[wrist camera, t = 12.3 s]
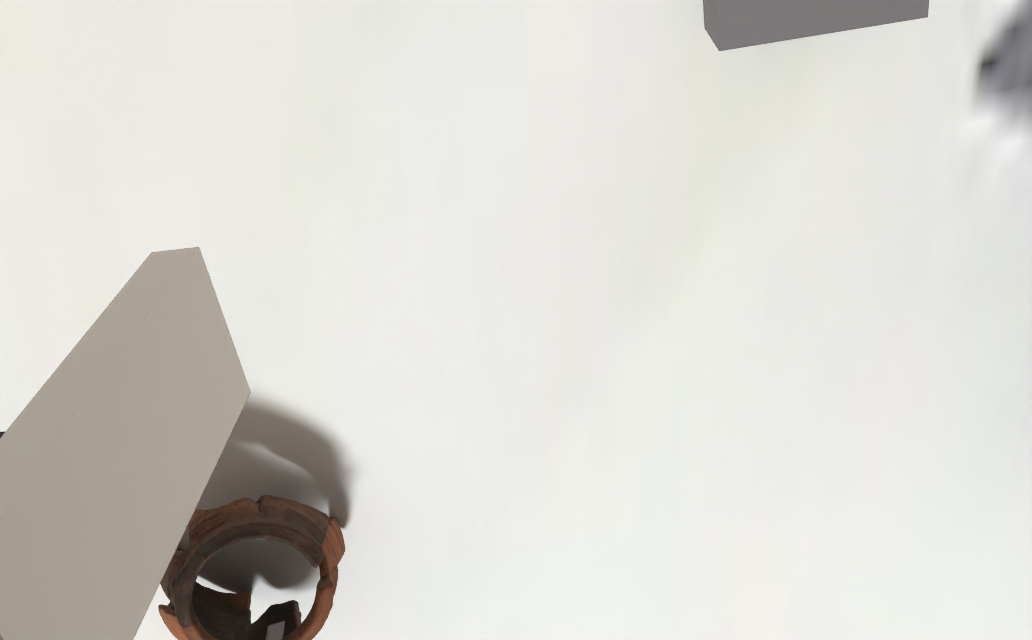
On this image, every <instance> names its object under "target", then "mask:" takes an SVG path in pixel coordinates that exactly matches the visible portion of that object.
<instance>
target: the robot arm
mask: <svg viewBox="0 0 1032 640" xmlns="http://www.w3.org/2000/svg"><path fill="white" fill-rule="evenodd" d="M250 393H251V392H250V389H249V386H248V383H247V380H246V378H245V375H244V372H243V369H242V366H241V364H240V361H239V358H238V355H237V352H236V349H235V347H234V344H233V341H232V338H231V335H230V333H229V330H228V327H227V324H226V321H225V319H224V316H223V313H222V310H221V307H220V304H219V302H218V299H217V296H216V293H215V290H214V288H213V285H212V282H211V279H210V276H209V274H208V271H207V268H206V265H205V262H204V259H203V257H202V254H201V251H200V248H199V247H194V248H185V249H177V250H168V251H160V252H152V253H151V254H150V255H149V256H148V257H147V259H146V260H145V261H144V262H143V264H142V265H141V266H140V267H139V269H138V270H137V271H136V272H135V273H134V275H133V276H132V277H131V278H130V280H129V281H128V282H127V283H126V284H125V286H124V287H123V288H122V289H121V291H120V292H119V293H118V294H117V296H116V297H115V298H114V299H113V300H112V302H111V303H110V304H109V305H108V307H107V308H106V309H105V310H104V311H103V313H102V314H101V315H100V316H99V318H98V319H97V320H96V321H95V323H94V324H93V325H92V326H91V327H90V329H89V330H88V331H87V332H86V334H85V335H84V336H83V337H82V339H81V340H80V341H79V342H78V343H77V345H76V346H75V347H74V348H73V350H72V351H71V352H70V353H69V354H68V356H67V357H66V358H65V359H64V361H63V362H62V363H61V364H60V366H59V367H58V368H57V369H56V370H55V372H54V373H53V374H52V375H51V377H50V378H49V379H48V380H47V382H46V383H45V384H44V385H43V386H42V388H41V389H40V390H39V391H38V393H37V394H36V395H35V396H34V397H33V399H32V400H31V401H30V402H29V404H28V405H27V406H26V407H25V409H24V410H23V411H22V412H21V413H20V415H19V416H18V417H17V418H16V420H15V421H14V422H13V423H12V425H11V426H10V427H9V428H8V429H7V431H6V432H0V640H133V639H134V637H135V635H136V633H137V630H138V628H139V626H140V624H141V622H142V620H143V618H144V616H145V614H146V612H147V609H148V607H149V605H150V603H151V601H152V599H153V597H154V595H155V593H156V590H157V588H158V586H159V584H160V582H161V580H162V578H163V576H164V574H165V572H166V569H167V567H168V565H169V563H170V561H171V559H172V557H173V555H174V553H175V550H176V548H177V546H178V544H179V542H180V540H181V538H182V536H183V534H184V532H185V529H186V527H187V525H188V523H189V521H190V519H191V517H192V515H193V513H194V511H195V508H196V506H197V504H198V502H199V500H200V498H201V496H202V494H203V492H204V489H205V487H206V485H207V483H208V481H209V479H210V477H211V475H212V473H213V471H214V468H215V466H216V464H217V462H218V460H219V458H220V456H221V454H222V452H223V449H224V447H225V445H226V443H227V441H228V439H229V437H230V435H231V433H232V431H233V428H234V426H235V424H236V422H237V420H238V418H239V416H240V414H241V412H242V409H243V407H244V405H245V403H246V401H247V399H248V397H249V395H250Z"/></svg>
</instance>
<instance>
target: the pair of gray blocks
mask: <svg viewBox="0 0 1032 640" xmlns="http://www.w3.org/2000/svg"><path fill="white" fill-rule="evenodd" d="M703 7H704V25H705V29H706V31H707V32H708V34H709V36H710V37H711V39H712V40H713V42H714V44H715V45H716V47H717V48H718V50H719V51H723V50H729V49H735V48H741V47H748V46H754V45H760V44H766V43H772V42H778V41H784V40H791V39H797V38H803V37H809V36H815V35H821V34H827V33H834V32H840V31H846V30H852V29H858V28H864V27H870V26H877V25H883V24H889V23H895V22H901V21H907V20H913V19H919V18H926V17H928V8H929V0H703Z"/></svg>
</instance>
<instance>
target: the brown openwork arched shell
mask: <svg viewBox="0 0 1032 640" xmlns="http://www.w3.org/2000/svg"><path fill="white" fill-rule="evenodd" d="M189 536H190V547H189V550H188V551H182V550H177V548H176V550H175V553H174V555H173V557H172V559H171V561H170V563H169V565H168V567H167V569H166V572H165V574H164V576H163V578H162V580H161V582H160V584H161V586H162V589H163V591H164V592H165V594H166V596H167V597H168V599H169V600H170V603H169V604H168V605H167V606H166V605H159V613H160V615H161V617H162V619H163V621H164V623H165V624H166V626H167V627H168V629H169V630H170V632H171V633H172V634H173V635H174V636H175V637H176V638H177V639H178V640H312V639H313V638H314V637H315V636H316V635H317V634H318V632H319V631H320V630H321V628H322V627H323V625H324V623H325V621H326V619H327V618H328V615H329V612H330V610H331V608H332V605H333V596H334V594H335V590H336V586H337V580H338V567H337V565H338V563H339V561H340V560H341V558H342V556H343V555H344V552H345V544H344V539H343V535H342V532H341V529H340V527H339V524H338V522H337V520H336V519H335V518H331V519H329V517H328V516H327V515H326V514H325V513H322V512H320V511H319V510H316V509H314V508H312V507H309V506H307V505H304V504H301V503H299V502H296V501H292V500H289V499H284V498H278V497H273V496H269V495H265V496H261V497H260V498H259V500H258V501H257V503H256V502H254V501H253V500H252V499H250V498H244V499H240V500H237V501H234V502H232V503H230V504H228V505H224V506H222V507H219V508H215V509H210V510H200V509H199V510H195V511H194V513H193V515H192V517H191V519H190V521H189ZM255 538H266V539H271V540H277V541H281V542H284V543H286V544H289V545H291V546H293V547H294V548H296V549H297V550H298V551H300V552H301V553H302V554H303V555H304V556H305V557H306V558H307V559H308V561H309V562H310V563H311V565H312V566H313V567H314V568H317V567H318V566H319V568H320V580H319V582H318V584H317V590H316V596H315V601H314V604H313V606H312V609H311V610H310V612H309V614H308V616H307V617H306V619H305V620H304V621H303V622H302V623H301V612H300V611H299V605H298V602H297V601H295V600H292V601H288V602H285V603H282V604H274V605H271V606H270V607H269V608H268V609H267V610H266V612H265V613H263V614H262V615H261V616H260V618H259V619H258V620H257V621H255V622H254V623H252V624H251V611H250V603H251V594H250V593H236V594H234V593H223V592H218V591H215V590H213V589H210V588H207V587H204V586H202V585H200V584H199V583H197V582H196V579H197V576H198V574H199V572H200V571H201V569H202V568H203V566H204V565H205V563H206V561H207V560H209V559H210V558H211V557H212V556H213V555H215V554H216V553H218V552H220V551H221V550H223V549H224V548H226V547H228V546H229V545H232V544H234V543H237V542H239V541H242V540H248V539H255Z"/></svg>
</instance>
